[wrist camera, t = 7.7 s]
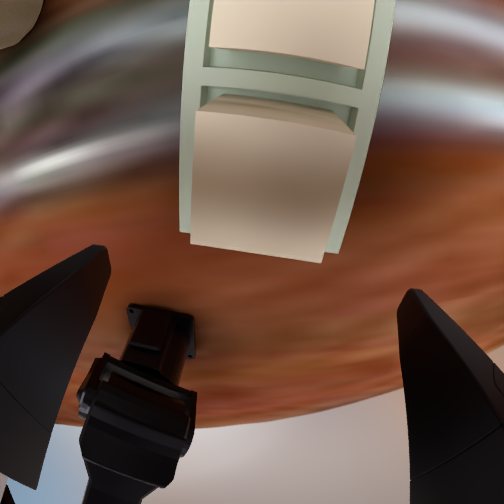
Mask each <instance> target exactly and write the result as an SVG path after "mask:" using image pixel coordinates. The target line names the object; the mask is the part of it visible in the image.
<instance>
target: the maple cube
mask: <svg viewBox="0 0 504 504" xmlns="http://www.w3.org/2000/svg"><path fill="white" fill-rule="evenodd" d="M355 140H356V135H355V134H354V133H353V132H352V131H351V129H350V128H349V127H348V126H347V125H346V124H345V123H344V122H343V121H342V120H341V119H340V118H339V117H338V116H337V115H336V114H335V113H334V112H333V111H332V110H329V109H324V108H320V107H315V106H309V105H304V104H299V103H293V102H287V101H281V100H274V99H268V98H260V97H253V96H244V95H235V94H225V93H223V94H222V95H220V96H219V97H217V98H215V99H214V100H212V101H211V102H209V103H207V104H206V105H204V106H203V107H201V108H200V109H198V110H197V111H196V116H195V131H194V148H193V168H192V193H191V239H190V244H196V245H203V246H210V247H216V248H223V249H229V250H236V251H243V252H249V253H256V254H263V255H269V256H276V257H283V258H289V259H296V260H303V261H309V262H316V263H321V261H322V258H323V255H324V252H325V249H326V245H327V242H328V239H329V236H330V232H331V229H332V226H333V222H334V219H335V215H336V212H337V208H338V205H339V201H340V198H341V194H342V190H343V187H344V183H345V179H346V176H347V172H348V168H349V164H350V160H351V156H352V152H353V148H354V144H355Z"/></svg>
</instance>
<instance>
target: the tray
mask: <svg viewBox="0 0 504 504" xmlns="http://www.w3.org/2000/svg"><path fill="white" fill-rule="evenodd" d="M395 1H396V0H190V5H189V13H188V22H187V32H186V43H185V54H184V67H183V82H182V99H181V121H180V156H179V219H180V232H185V233H191V193H192V168H193V148H194V131H195V116H196V111H197V110H198V109H200V108H201V107H203V106H204V105H206V104H207V103H209V102H211V101H212V100H214V99H215V98H217V97H219V96H220V95H222V94H223V93H225V94H235V95H244V96H253V97H260V98H268V99H274V100H281V101H287V102H293V103H299V104H304V105H309V106H315V107H320V108H324V109H329V110H332V111H333V112H334V113H335V114H336V115H337V116H338V117H339V118H340V119H341V120H342V121H343V122H344V123H345V124H346V125H347V126H348V127H349V128H350V129H351V131H352V132H353V133H354V134H355V135H356V140H355V144H354V148H353V152H352V156H351V160H350V164H349V168H348V172H347V176H346V179H345V183H344V187H343V190H342V194H341V198H340V201H339V205H338V208H337V212H336V215H335V219H334V222H333V226H332V229H331V232H330V236H329V239H328V242H327V245H326V249H325V252H329V253H336V254H338V253H339V250H340V247H341V244H342V240H343V237H344V234H345V231H346V228H347V224H348V221H349V218H350V214H351V211H352V207H353V204H354V200H355V197H356V193H357V190H358V186H359V182H360V179H361V175H362V171H363V167H364V164H365V160H366V156H367V152H368V148H369V143H370V139H371V135H372V131H373V127H374V122H375V118H376V113H377V109H378V104H379V99H380V94H381V89H382V84H383V79H384V74H385V68H386V62H387V57H388V51H389V45H390V38H391V32H392V25H393V17H394V9H395Z"/></svg>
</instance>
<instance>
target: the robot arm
mask: <svg viewBox="0 0 504 504" xmlns="http://www.w3.org/2000/svg"><path fill="white" fill-rule="evenodd" d="M110 275H111V265H110V260H109V255H108V250H107V248H106V247H105V246H102V245H96V244H94V245H91V246H89V247H87V248H86V249H84V250H82V251H80V252H78V253H76V254H74V255H72V256H71V257H69V258H67V259H65V260H63V261H61V262H60V263H58V264H56V265H54V266H52V267H51V268H49V269H47V270H45V271H44V272H42V273H40V274H38V275H37V276H35V277H33V278H32V279H30V280H28V281H26V282H25V283H23V284H21V285H20V286H18V287H16V288H15V289H13V290H11V291H10V292H8V293H7V294H5V295H4V296H2V297H0V504H15V502H14V500H13V498H12V495H11V493H10V490H9V488H8V485H7V484H6V483H7V480H8V477H9V478H11V479H13V480H15V481H17V482H19V483H21V484H23V485H25V486H28V487H30V488H32V489H34V490H36V489H37V486H38V482H39V478H40V473H41V470H42V466H43V461H44V458H45V454H46V451H47V447H48V444H49V441H50V437H51V433H52V430H53V427H54V424H55V421H56V418H57V415H58V412H59V409H60V406H61V403H62V400H63V397H64V394H65V392H66V389H67V386H68V383H69V381H70V378H71V375H72V373H73V370H74V368H75V365H76V363H77V360H78V358H79V355H80V353H81V350H82V348H83V346H84V343H85V341H86V339H87V336H88V334H89V332H90V329H91V327H92V325H93V322H94V320H95V318H96V315H97V312H98V310H99V307H100V304H101V301H102V298H103V295H104V292H105V289H106V286H107V284H108V281H109V278H110ZM127 314H128V318H129V321H130V325H131V329H132V332H131V334H130V336H129V338H128V341H127V343H126V345H125V348H124V350H123V352H122V355H121V357H120V360H117V359H115V358H113V357H111V356H110V355H109V354H107V353H104V355H103V357H102V358H95V360H94V362H93V364H92V366H91V368H90V371H89V373H88V374H87V376H86V378H85V379H84V381H83V383H82V384H81V386H80V388H79V389H78V392H77V394H76V396H77V399H78V401H79V408H80V410H79V414H78V417H80V418H82V419H84V420H85V423H84V426H83V428H82V431H81V434H80V437H79V444H80V448H81V452H82V457H83V459H84V462H85V466H86V470H87V473H88V476H89V480H88V483H87V486H86V490H85V493H84V497H83V500H82V504H141V502H142V499H143V498H144V497H146V496H147V495H148V494H150V493H151V492H153V491H154V490H155V489H156V488H158V487H160V488H165V487H166V486H167V485H169V484H170V483H171V482H172V480H173V479H174V475H175V471H176V466H177V463H178V460H179V458H180V457H183V456H184V455H185V454H186V453H187V451H188V449H189V447H190V445H191V442H192V439H193V435H194V430H195V418H196V403H197V392H195V391H192V390H191V391H189V390H187V389H184V388H182V387H179V386H178V385H179V381H180V377H181V373H182V370H183V366H184V362H185V359H186V358H188V359H194V358H195V354H196V352H195V332H194V318H193V317H192V316H190V315H185V314H179V313H174V312H168V311H163V310H157V309H152V308H147V307H142V306H137V305H132V304H130V305H128V307H127ZM188 320H189V321H188ZM397 324H398V338H399V354H400V364H401V371H402V378H403V386H404V394H405V403H406V412H407V413H406V414H407V425H408V439H409V458H410V480H411V481H410V504H504V373H503V372H502V371H501V370H500V369H499V368H498V366H497V365H496V364H495V363H493V361H492V360H491V359H490V358H489V357H488V356H487V355H486V353H485V352H484V351H483V350H482V349H481V348H480V347H479V346H478V345H477V344H476V343H475V342H474V341H473V340H472V339H471V338H470V337H469V336H468V335H467V334H466V333H465V332H464V331H463V330H462V329H461V328H460V327H459V326H458V325H457V324H456V323H455V322H454V321H453V320H452V319H451V318H450V317H449V316H448V315H447V314H446V313H445V312H444V311H443V310H442V309H441V308H440V307H439V306H438V305H437V304H436V303H435V302H434V301H433V300H432V299H431V298H430V297H429V296H428V295H427V294H425V293H424V292H423V291H422V290H420V289H413V288H411V289H409V290H408V291H407V292H406V294H405V296H404V298H403V299H402V301H401V303H400V305H399V307H398V310H397Z"/></svg>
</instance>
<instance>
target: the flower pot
mask: <svg viewBox="0 0 504 504" xmlns="http://www.w3.org/2000/svg"><path fill="white" fill-rule="evenodd" d="M42 4H43V0H0V50H1V49H4V48H7V47H10V46H13V45H15V44H17V43H18V42H20V41H21V39H22V38H23V37H24V36H25V35H26V34H27V33H28V32H29V31H30V30H31V29H32V28H33V26H34V25H35V23H36V21H37V19H38V16H39V14H40V11H41V8H42Z"/></svg>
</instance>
